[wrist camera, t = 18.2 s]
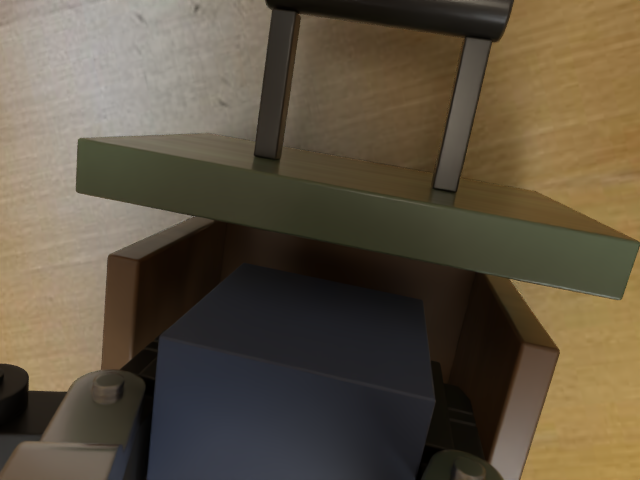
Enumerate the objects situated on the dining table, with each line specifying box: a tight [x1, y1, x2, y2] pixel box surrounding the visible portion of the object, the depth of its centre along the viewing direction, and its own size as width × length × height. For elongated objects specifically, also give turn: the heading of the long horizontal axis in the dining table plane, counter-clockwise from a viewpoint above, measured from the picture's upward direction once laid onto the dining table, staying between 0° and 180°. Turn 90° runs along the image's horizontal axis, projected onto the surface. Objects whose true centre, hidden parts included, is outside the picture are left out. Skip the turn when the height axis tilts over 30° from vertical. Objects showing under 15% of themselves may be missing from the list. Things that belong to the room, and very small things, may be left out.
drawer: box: [76, 0, 640, 480], centre depth 14 cm, size 18×11×7 cm, turn 171°
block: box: [146, 263, 436, 480], centre depth 11 cm, size 5×5×5 cm
